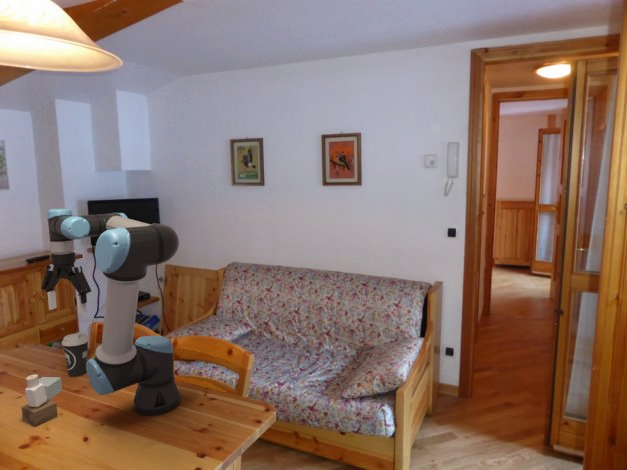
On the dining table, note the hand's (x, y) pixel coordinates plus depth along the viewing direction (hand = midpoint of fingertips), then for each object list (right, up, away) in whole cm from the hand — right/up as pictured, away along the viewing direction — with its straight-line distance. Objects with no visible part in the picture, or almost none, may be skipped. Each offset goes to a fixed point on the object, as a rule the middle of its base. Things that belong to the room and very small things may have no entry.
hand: (67, 310), depth 163 cm
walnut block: (+1, -32, -18) cm, 37 cm away
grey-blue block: (-6, -30, -2) cm, 30 cm away
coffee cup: (-4, -27, +15) cm, 31 cm away
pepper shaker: (+1, -27, -19) cm, 33 cm away
